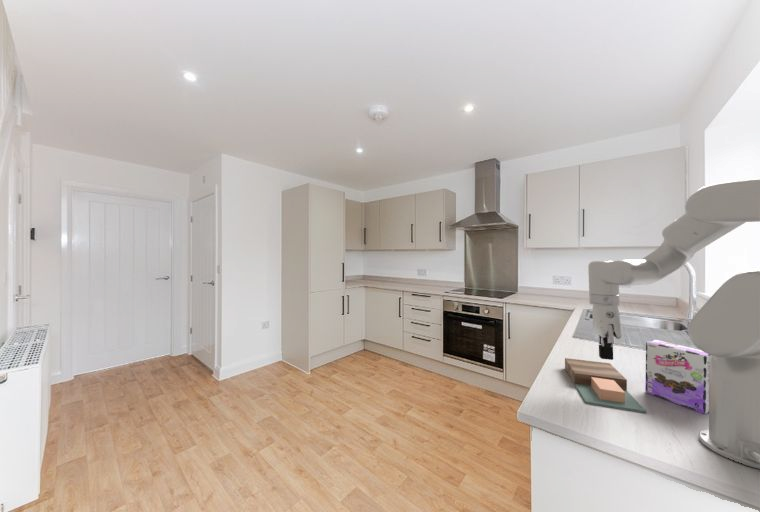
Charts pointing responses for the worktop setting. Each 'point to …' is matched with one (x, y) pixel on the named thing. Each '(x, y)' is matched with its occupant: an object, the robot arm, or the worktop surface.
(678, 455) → the worktop surface
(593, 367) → the brown block
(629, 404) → the mat
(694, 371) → the candy box
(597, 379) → the peach rectangular block
